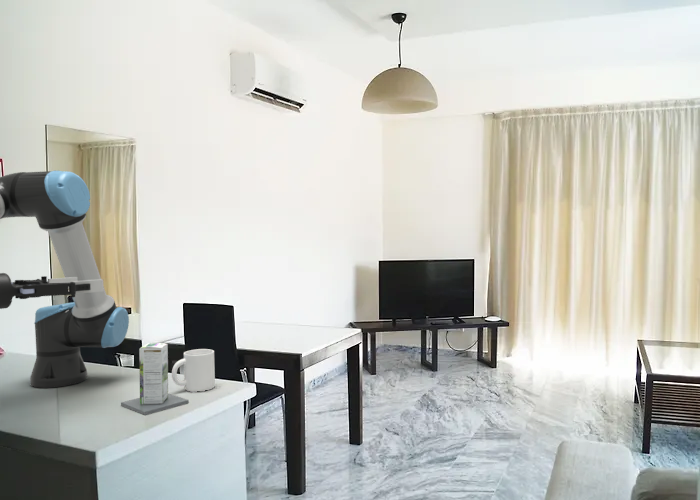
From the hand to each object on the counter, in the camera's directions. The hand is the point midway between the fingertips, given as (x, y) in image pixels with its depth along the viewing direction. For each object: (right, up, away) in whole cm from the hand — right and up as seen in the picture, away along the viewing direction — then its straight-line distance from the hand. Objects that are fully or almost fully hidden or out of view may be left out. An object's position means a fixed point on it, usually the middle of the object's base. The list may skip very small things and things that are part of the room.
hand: (89, 283), depth 132 cm
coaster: (+12, -32, +11) cm, 35 cm away
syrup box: (+12, -31, +11) cm, 35 cm away
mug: (+18, -31, +24) cm, 43 cm away
